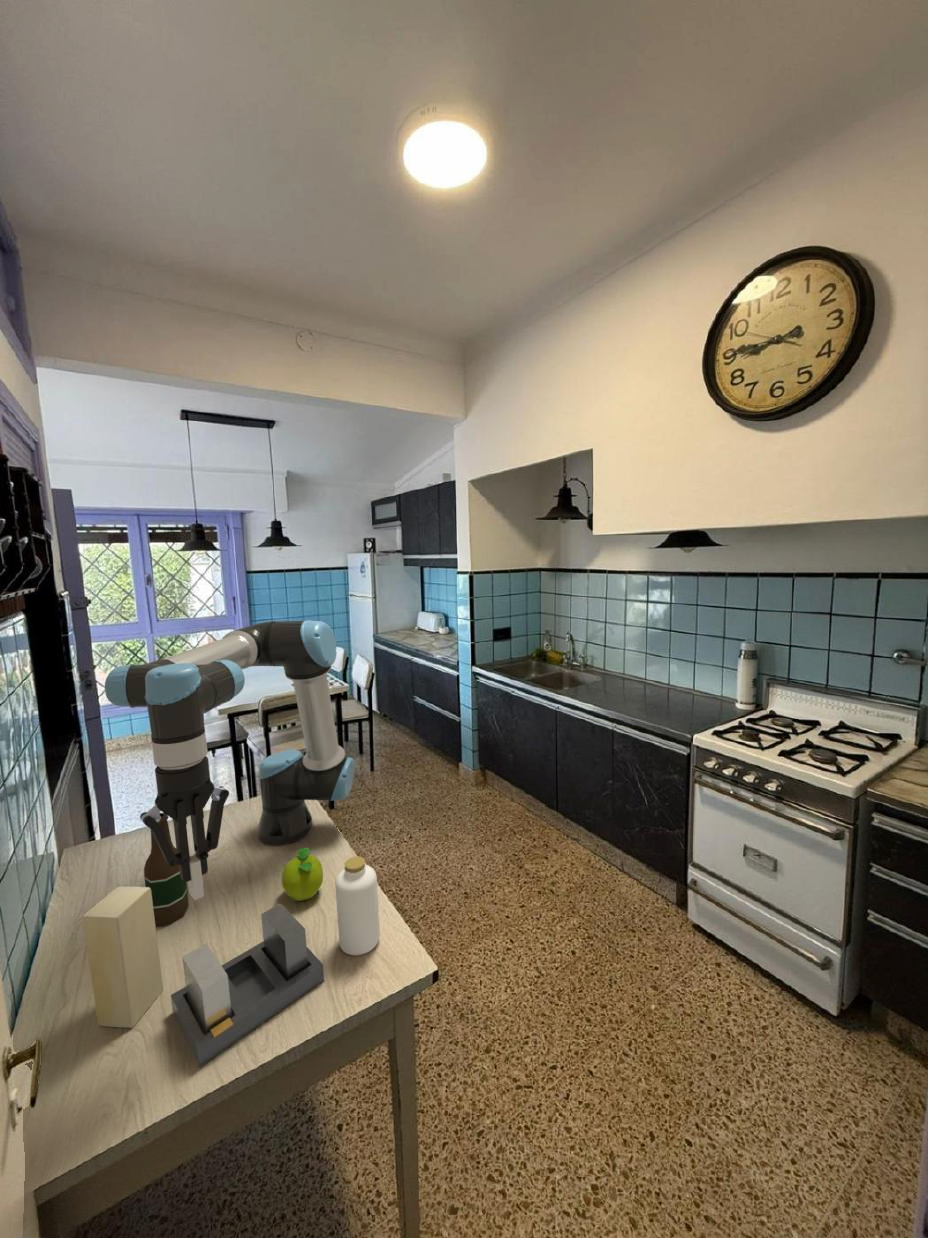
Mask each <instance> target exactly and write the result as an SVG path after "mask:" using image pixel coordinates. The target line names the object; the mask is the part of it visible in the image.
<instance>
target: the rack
mask: <svg viewBox="0 0 928 1238" xmlns="http://www.w3.org/2000/svg"><path fill="white" fill-rule="evenodd" d="M260 917H261V925H262V926H261V927H262V936H263V937H262V938H263V940H262V941H261V942H259V943H258V944H256V945H255V946H252V947H251V948H249V949H247V950H246V951H244V952H242V953H241V954H239V955H237V956H235V957H234V958H232V959H230V960H229V961H226V962H225V963H224V964H222V965H221V966H222V967H223V969H224V970H225V972H226V973H227V975H228V983H229V993H230V1003H231V1012H232V1018H230V1017H229V1018H228V1019H226V1020H225V1021H223V1022H222V1023H220V1024H219V1025H217V1026H216V1027H214V1028H213V1029H211V1032H209V1033H208V1034H206V1035H205V1036H204V1035H203V1033H202V1031H201V1029H200V1027H199V1025H198V1023H197V1021H196V1019H195V1017H194V1016H193V1014H192V1012H191V1010H190V1008H189V1006H188V1000H187V992H186V985H185V986H184V987H182V988H180V989H179V990H177V991H175V992H174V993H172V994H170V1000H171V1006H172V1010H171V1011H172V1013H173V1016H174V1017H175V1020H176V1022H177V1024H178V1027H179V1028H180V1030H181V1031H180V1032H181V1033H182V1035H183V1037H184V1038H185V1041H186V1044H187V1045H188V1048H189V1049H190V1052H191V1053H192V1055H193V1058H194V1060H195V1061H196V1064H197V1066H198V1068H200V1069H201V1068H202V1067H203V1066H205V1064H207V1063H209V1062H210V1061H212V1060H213V1059H215V1058H216V1057H218V1056H219V1055H220V1054H222V1053H223V1052H225V1051H226V1050H227V1049H229V1048H230V1047H232V1046H233V1045H235V1044H236V1043H238V1042H239V1041H240V1040H242V1039H244V1038H245V1037H246V1036H248V1035H249V1034H250V1033H252V1032H254V1030H256V1029H257V1028H259V1027H260V1026H262V1025H263V1024H265V1023H267V1021H269V1020H270V1019H271V1018H274V1017H275V1016H277V1014H279V1013H280V1012H282V1011H283V1010H285V1009H286V1008H288V1007H289V1006H291V1005H292V1004H293V1003H295V1002H296V1001H297V1000H299V999H300V998H301V997H304V995H306V994H308V993H309V992H311V991H312V990H313V989H314V988H316V987H317V986H319V985H320V984H322V983H324V982H325V975H324V974H325V973H324V964H323V963H322V962H321V960H319V958H318V957H317V956H316V955H315V953H313V952H312V951H311V950H310V949H309V947H308V946H307V933H306V928H305V926H303V925H302V924H301V923H300V922H299V921H298V920H297V918H295V916H294V915H293V914H292V913H291V912H290V911H289V910H288V909H287V908H286V907H285V906H284V905H283V904H282V903H279V904H277V905H275V906H274V907H271V908H269V909H268V910H266V911H264V912H262V913H261V916H260Z"/></svg>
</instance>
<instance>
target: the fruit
mask: <svg viewBox="0 0 928 1238" xmlns="http://www.w3.org/2000/svg"><path fill="white" fill-rule="evenodd" d="M281 875H282V876H281V885H282V888H283V890H284V892H285V894H287V895H288V896H289V897H290V898H291V899H293V900H295V901H298V902H300V901H301V902H302V901H306V900H309V899H311V898H313V897H314V896H315V895H316V893H317V892H318V891H319V889H321V886H322V885H323V879H324V871H323V865H322V863H321V861H320V859H318V858H317V857H316V856H314V855H311V854H310V848H309V847H303V848H300V849H298V850H297V856H296V857H294V858H293V859H291V860H289V861H288V862H287V863H286V864H285V865H284V868H283V870H282V873H281Z"/></svg>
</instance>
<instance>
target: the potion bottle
mask: <svg viewBox="0 0 928 1238" xmlns="http://www.w3.org/2000/svg"><path fill="white" fill-rule="evenodd" d="M343 868H344V869H342V870H341V871H340V872H339V873H338V875H336V878H335V882H334V884H335V885H334V886H335V899H336V900H335V901H336V912H337V925H338V926H337V927H338V942H339V948H340V949H341V951H342V952H344V953H345V954H347V955H350V956H362V955H365V954H367V953H369V952H370V951H372V950H373V949H374V948H375V947H376V946H377V944H378V942H379V941H380V937H381V931H380V930H381V929H380V914H379V912H380V910H379V894H378V877H377V874H376V870H375V869H374V868H373V867H371V866H369V865H368V864H367V862H366V859H365V858H364V857H362V856H352V857H349V858H348V859H346V861H345V862H344V867H343Z"/></svg>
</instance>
